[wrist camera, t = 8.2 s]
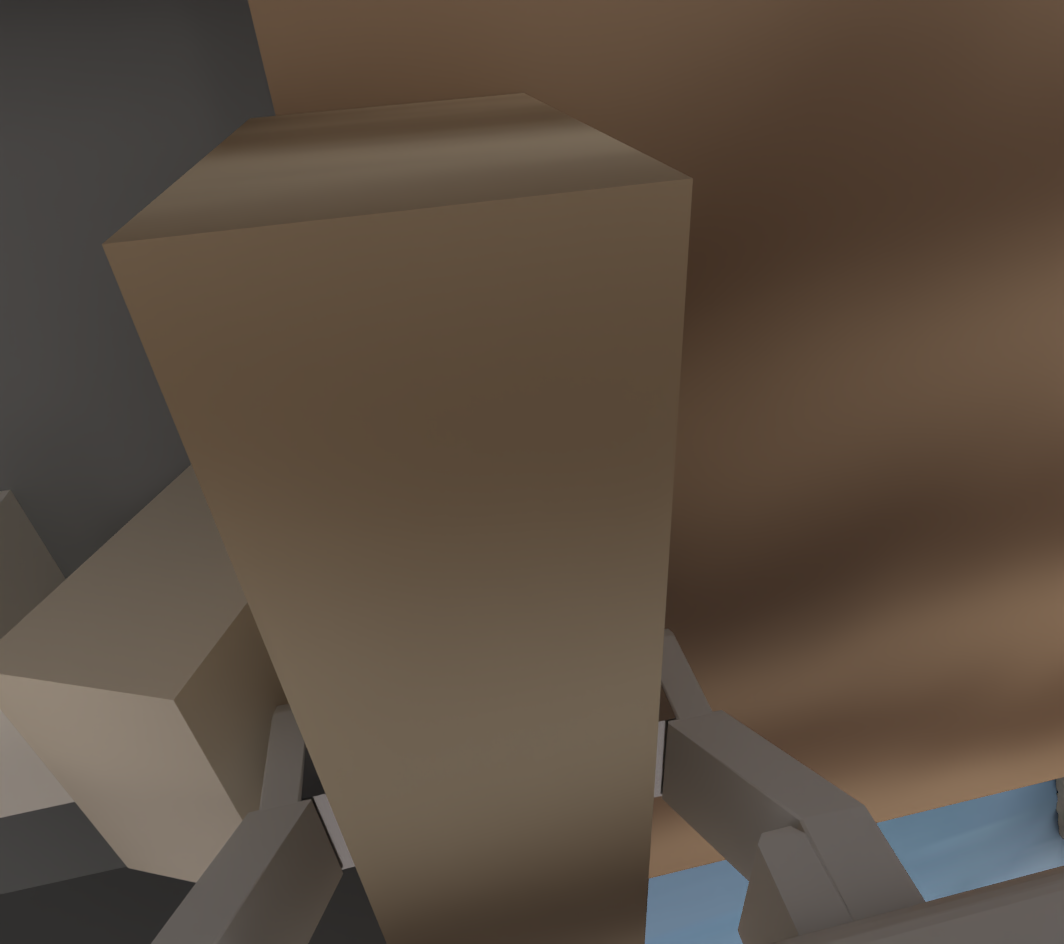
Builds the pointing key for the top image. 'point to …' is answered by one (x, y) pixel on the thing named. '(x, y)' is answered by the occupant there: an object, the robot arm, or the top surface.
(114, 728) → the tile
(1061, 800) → the ceramic cottage
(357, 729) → the bar
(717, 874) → the top surface
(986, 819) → the top surface
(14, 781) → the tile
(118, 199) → the box
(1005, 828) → the top surface
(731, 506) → the plate
